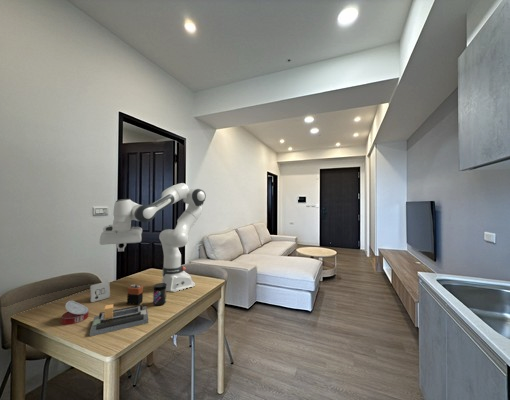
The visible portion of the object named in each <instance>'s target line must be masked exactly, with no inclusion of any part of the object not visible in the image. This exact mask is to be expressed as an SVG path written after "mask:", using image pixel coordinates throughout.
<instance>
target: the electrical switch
mask: <svg viewBox="0 0 510 400" xmlns="http://www.w3.org/2000/svg"><path fill="white" fill-rule="evenodd" d="M110 288H111V287H110V281H105V282H100V283H96V284H91V285H90V286H89V289H90V290H89V291H90V300H89V301H90V303H96V302H99V301H102V300H106V299H109V298H111V289H110Z"/></svg>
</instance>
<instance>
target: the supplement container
mask: <svg viewBox="0 0 510 400" xmlns="http://www.w3.org/2000/svg"><path fill="white" fill-rule="evenodd" d="M166 286H167V284H166V283H162V282H159V283H156V284H153V293H152V294H153V296H152V297H153V299H152V304H153V306H155V307H159V306H163V305H165V304H166V302H167V291H166Z"/></svg>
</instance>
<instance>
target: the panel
mask: <svg viewBox="0 0 510 400" xmlns="http://www.w3.org/2000/svg"><path fill="white" fill-rule="evenodd" d="M148 314H149V313H148V309H147V306H146V305H145V306H143V304H138V305H132V306H128V307H127V306H126V307H122V308H117V309H113V317H112V318H107V319H104V316H105V311H102V312H99V314H98V315H94V317H93V321H92V324H91V327H90V330H89V337H93V336H98V335H102V334H106V333H111V332H115V331H119V330H124V329H128V328H131V327H132V328H133V327H136V326H141V325H145V324H148V323H149V315H148Z"/></svg>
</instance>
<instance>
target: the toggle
mask: <svg viewBox="0 0 510 400" xmlns="http://www.w3.org/2000/svg"><path fill="white" fill-rule="evenodd" d="M113 310H114V303H112V304H106V305H105V306H104V312H105V316H104V319H107V318H112V317H113Z"/></svg>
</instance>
